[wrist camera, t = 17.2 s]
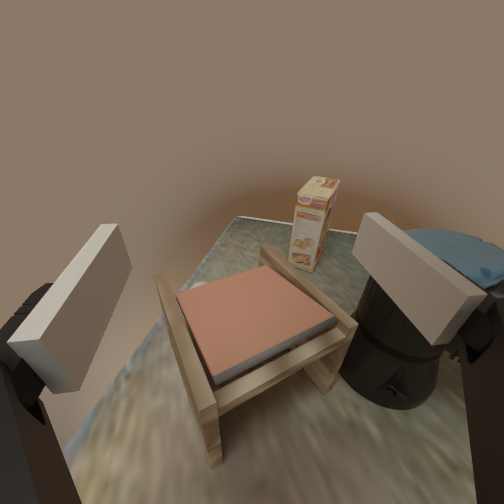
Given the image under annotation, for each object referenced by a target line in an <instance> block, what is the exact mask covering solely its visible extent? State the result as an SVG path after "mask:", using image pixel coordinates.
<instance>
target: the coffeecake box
mask: <svg viewBox="0 0 504 504" xmlns="http://www.w3.org/2000/svg"><path fill="white" fill-rule="evenodd" d="M339 183H340V180H337V179H332V178H325V177H318V176H314V177H313V178H311V180H309V182H308V183H307V184H306V185H305V186H304V187H303V188H302V189H301V190H300V191H299V192H298V193H297V202H296V208H295V215H294V222H293V229H292V235H291V242H290V249H289V256H288V262H289V263H290V264H291V265H293V266H294V267H295V268H298V269H301V270H304V271H307V272H311V273H313V271H314V269H315V267H316V265H317V262H318V260H319V258H320V255H321V253H322V251H323V248H324V246H325V241H326V237H327V233H328V228H329V224H330V220H331V216H332V212H333V207H334V203H335V199H336V195H337V191H338V187H339Z"/></svg>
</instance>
